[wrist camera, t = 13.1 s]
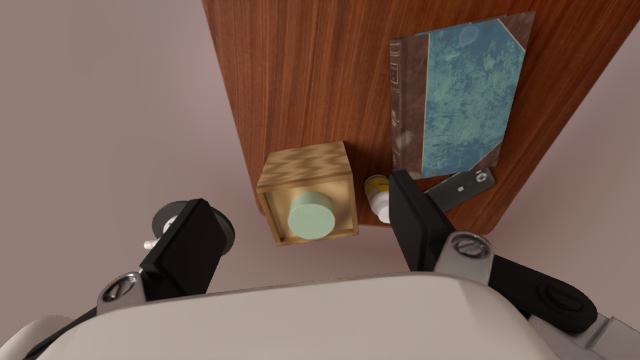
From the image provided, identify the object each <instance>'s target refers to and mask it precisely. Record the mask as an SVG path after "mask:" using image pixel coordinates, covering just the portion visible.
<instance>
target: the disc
mask: <svg viewBox="0 0 640 360" xmlns="http://www.w3.org/2000/svg"><path fill="white" fill-rule="evenodd" d="M334 225H335V215H334V208H333V204H332V202H331V200H330V199H329V198H328V197H327V196H325V195H323V194H321V193H318V192H305V193H302V194H300V195H298V196H296V197H295V198H294V199H293V200H292V202H291V204H290V208H289V215H288V226H289V228H290V230H291V231H292V232H293V233H294V234H295V235H297V236H298V237H301V238H304V239H319V238H322V237H324V236H326V235H328V234H329V233H330V232H331V231H332V229H333V228H334Z"/></svg>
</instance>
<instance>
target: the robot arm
mask: <svg viewBox="0 0 640 360" xmlns="http://www.w3.org/2000/svg"><path fill="white" fill-rule="evenodd" d="M389 221H390V224H391V226H392V229H393V231H394V233H395V236H396V238H397V240H398V243H399V245H400V247H401V250H402V252H403V255H404V257H405V259H406V262H407V264H408V267H409V269H410V271H411V272H396V273H386V274H375V275H364V276H355V277H346V278H338V279H328V280H319V281H310V282H301V283H292V284H284V285H276V286H267V287H258V288H251V289H242V290H233V291H225V292H217V293H209V294H205V293H206V291H207V289H208V286H209V283H210V282H211V279H212V277H213V275H214V272H215V269H216V267H217V265H218V263H219V260H220V258H221V256H222V253H223V251H224V249H225V246H226V244H227V237H226V235H225V233H224V231H223V230H222V228H221V226H220V224H219V222H218V220H217V218H216V216H215V214H214V212H213V210H212V209H211V207H210V205H209V203H208V201H205V200H204V199H202V198H200V199H193V200H190V201H188V203H187V204H186V205H185V207H184V208H183V209H182V211H181V212H180V213H179V214H178V216H175V217H173V218H171V219H170V220H169V221H168V222H167V223H166V224H165V226H164V230H163V233H164V234H163V235H162V237H161V238H159V239H158V240H149V241H146V242H145V243H144V248H145V249H152V250H151V251H150V252H149V254H148V255H147V256H146V258H145V259H144V260H143V261H142V263H141V264H140V265H139V266H140V267H141V268H142V269H141V270H140V271H139V273H138V272H129V273H126V274H123V275H121V276H119V277H118V278H116V279H115V280H113V281H112V282H110V283H109V284H108V285H107V286H106V287H105V288H104V289H103V290H102V291H101V293H100V295H99V296H98V300H97V306H96V307H95V308H93V309H92V310H90V311H89V312H87V313H86V314H84V315H82V316H81V317H79V318H78V319H76V320H75V319H71V318H67V317H63V316H45V317H42V318H39V319H37V320H35V321H33V322H31V323H30V324H28V325H26V326H25V327H24V328H22V329H21V330H20V331H19V332H18V333H16V334H15V335H14V336H13V337H12V338H11V339H10V340H9V341H7V342H6V343H5V344H4V345H3V346H2V347H1V348H0V360H559V359H560V360H640V332H638V331H637V330H635V329H633V328H632V327H630V326H628V325H627V324H625V323H623V322H621V321H620V320H618V319H616V318H615V317H613V316H612V317H611V318H610V319H608V318H607V317H605V316H603V315H602V314H600V313H598V312H597V309H596V307H595V305H594V304H593V303H592V301H591V300H590V299H589V298H588V297H587V296H586V295H585V294H584V293H582V292H581V291H579V290H578V289H576V288H575V287H573V286H571V285H569V284H567V283H565V282H563V281H560V280H558V279H555V278H553V277H550V276H548V275H545V274H543V273H540V272H538V271H535V270H533V269H530V268H528V267H525V266H523V265H520V264H518V263H515V262H513V261H510V260H508V259H505V258H503V257H500V256H498V255H495V254H494V248H493V246H492V245H491V243H490V242H489V241H488V240H487V239H485V238H484V237H482V236H481V235H479V234H476V233H474V232H469V231H457V230H456V229H455V228H454V226H453V225H452V224H451V222H450V221H449V220H448V218H447V217H446V216H445V214H444V213H443V212H442V210H441V209H440V208H439V207H438V205H437V204H436V203H435V201H434V200H433V199H432V197H431V196H430V195H429V194H428V193H422V191H421V190H420V188H419V187H418V186H417V184H416V183H415V182H414V180H413V179H412V177H411V176H410V175H409V173H408V172H407V170H406V169H403V170H396V171H393V174H390V175H389ZM558 358H559V359H558Z"/></svg>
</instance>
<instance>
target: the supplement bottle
mask: <svg viewBox="0 0 640 360" xmlns="http://www.w3.org/2000/svg"><path fill="white" fill-rule="evenodd" d="M364 190H365V193H366V196H367V199H368V201H369V204H370V207H371V209H372V211H373V212H374V213H375V214H376V215H378V217H379V219H380V220H381V221H382V222H384V223H390V221H389V180H388V179H387V178H386V177H385V176H383V175H374V176H371V177H370V178H368V179H367V180H366V182H365V184H364Z"/></svg>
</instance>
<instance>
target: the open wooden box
mask: <svg viewBox="0 0 640 360" xmlns="http://www.w3.org/2000/svg"><path fill="white" fill-rule="evenodd" d="M256 191H257V194H258V197H259V199H260V202H261V205H262V207H263V210H264V212H265V215H266V218H267V220H268V223H269V225H270V228H271V231H272V233H273V236H274V239H275V241H276V244H277V246H283V245H290V244H297V243H305V242H311V241H318V240H325V239H333V238H340V237H347V236H354V235H359V231H358V221H357V211H356V202H355V192H354V182H353V173H352V170H351V167H350V164H349V160H348V157H347V154H346V151H345V148H344V144H343V141H336V142H330V143H324V144H318V145H312V146H306V147H300V148H294V149H288V150H282V151H275V152H270V153H269V155H268V158H267V161H266V163H265V166H264V169H263V171H262V174H261V177H260V179H259V182H258V184H257V187H256ZM305 192H318V193H321V194H323V195H325V196H327V197H328V198H329V199H330V200H331V202H332V204H333V208H334V215H335V225H334V228H333V229H332V231H331V232H330V233H329V234H328V235H326V236H324V237H322V238H319V239H304V238H301V237H298V236H297V235H295V234H294V233H293V232H292V231H291V230H290V228H289V226H288V215H289V208H290V204H291V202H292V200H293V199H294V198H295V197H296V196H298V195H300V194H302V193H305Z"/></svg>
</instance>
